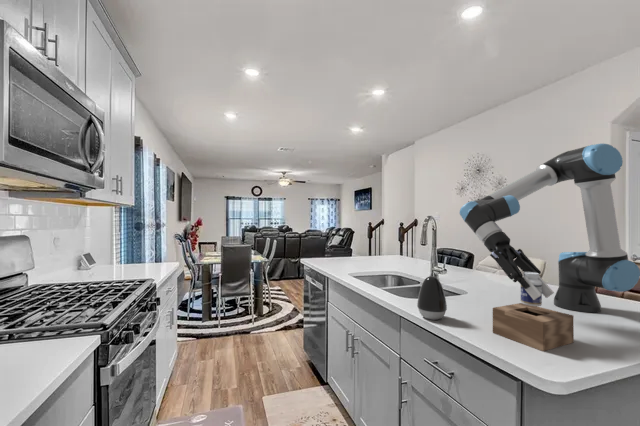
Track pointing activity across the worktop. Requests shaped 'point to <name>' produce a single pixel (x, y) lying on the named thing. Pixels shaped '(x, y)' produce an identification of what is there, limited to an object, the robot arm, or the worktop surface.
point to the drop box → (533, 326)
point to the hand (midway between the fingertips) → (543, 296)
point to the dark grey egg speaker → (432, 299)
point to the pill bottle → (533, 277)
